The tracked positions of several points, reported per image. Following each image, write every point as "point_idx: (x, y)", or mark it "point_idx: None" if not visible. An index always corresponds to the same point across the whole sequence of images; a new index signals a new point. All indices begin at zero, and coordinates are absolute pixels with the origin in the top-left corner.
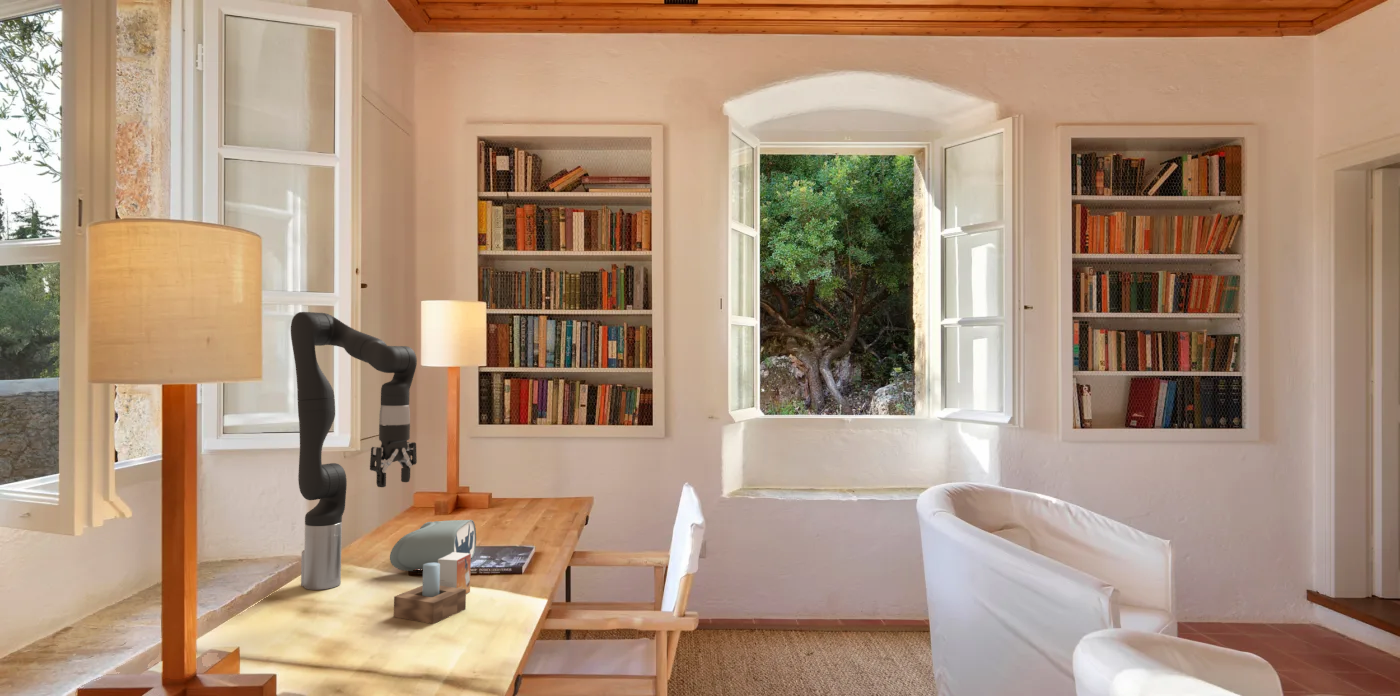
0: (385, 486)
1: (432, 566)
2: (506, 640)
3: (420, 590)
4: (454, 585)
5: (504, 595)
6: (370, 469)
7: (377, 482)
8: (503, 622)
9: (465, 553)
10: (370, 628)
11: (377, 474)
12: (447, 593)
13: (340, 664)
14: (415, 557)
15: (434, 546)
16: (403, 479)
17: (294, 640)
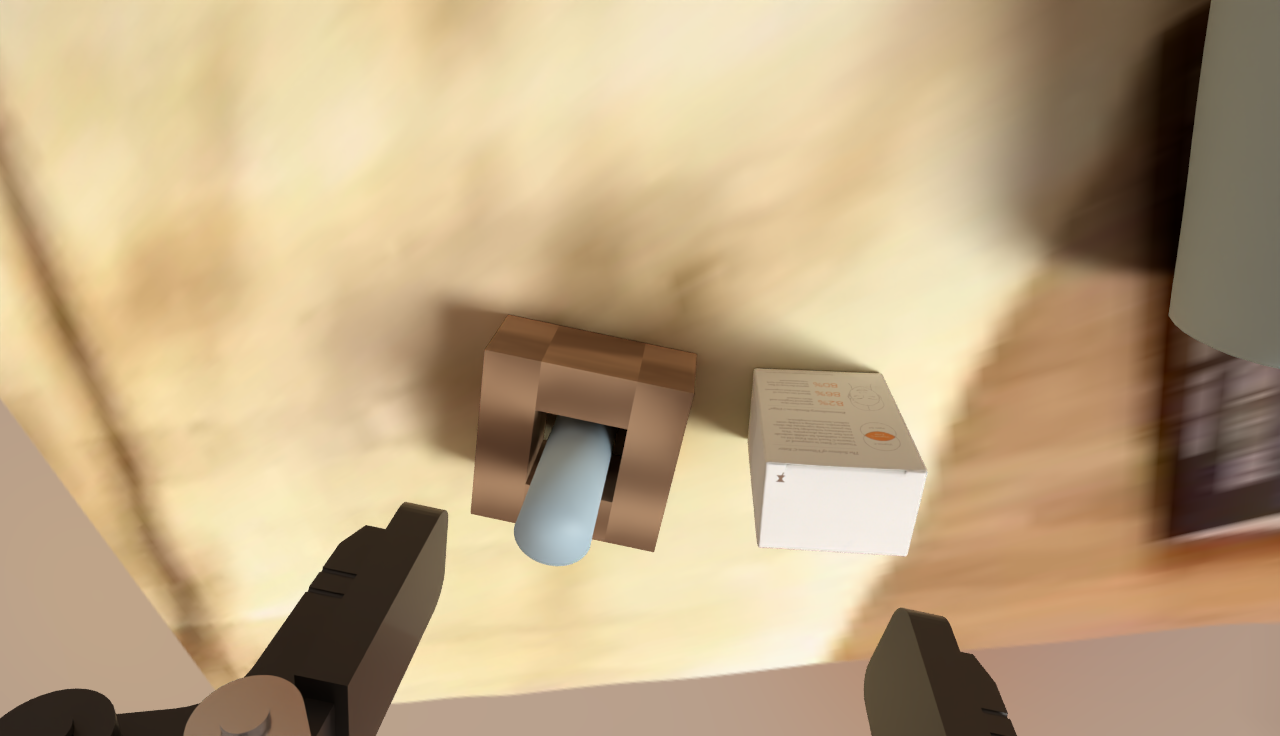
0: (439, 592)
1: (526, 550)
2: (452, 669)
3: (591, 409)
4: (750, 467)
5: (839, 564)
6: (19, 717)
7: (333, 568)
8: (574, 630)
9: (900, 538)
10: (376, 298)
11: (263, 671)
12: None
13: (112, 376)
14: (1216, 85)
15: (1246, 230)
16: (896, 660)
17: (155, 99)
